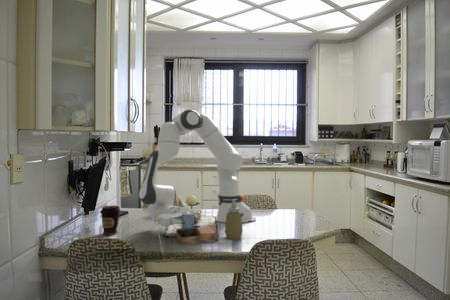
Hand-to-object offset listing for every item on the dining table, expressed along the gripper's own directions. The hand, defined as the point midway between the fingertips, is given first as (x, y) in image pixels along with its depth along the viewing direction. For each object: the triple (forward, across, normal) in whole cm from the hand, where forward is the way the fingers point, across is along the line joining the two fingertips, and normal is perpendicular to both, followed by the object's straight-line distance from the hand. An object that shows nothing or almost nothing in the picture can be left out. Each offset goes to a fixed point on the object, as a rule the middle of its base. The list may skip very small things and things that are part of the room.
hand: (189, 220), depth 138 cm
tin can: (-1, 0, +8) cm, 8 cm away
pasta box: (+3, +7, +8) cm, 11 cm away
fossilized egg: (-49, +23, +10) cm, 55 cm away
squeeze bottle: (+12, +16, +9) cm, 22 cm away
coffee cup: (-35, -20, +9) cm, 41 cm away
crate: (+1, +4, +9) cm, 10 cm away
